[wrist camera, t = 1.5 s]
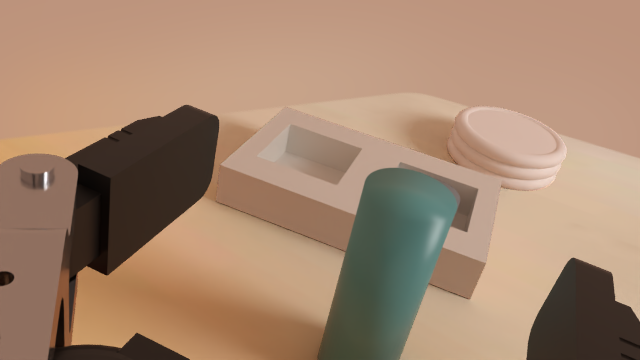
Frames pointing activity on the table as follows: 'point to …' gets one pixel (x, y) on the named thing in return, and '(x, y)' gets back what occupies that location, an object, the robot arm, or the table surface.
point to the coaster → (507, 147)
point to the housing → (351, 188)
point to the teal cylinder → (387, 264)
